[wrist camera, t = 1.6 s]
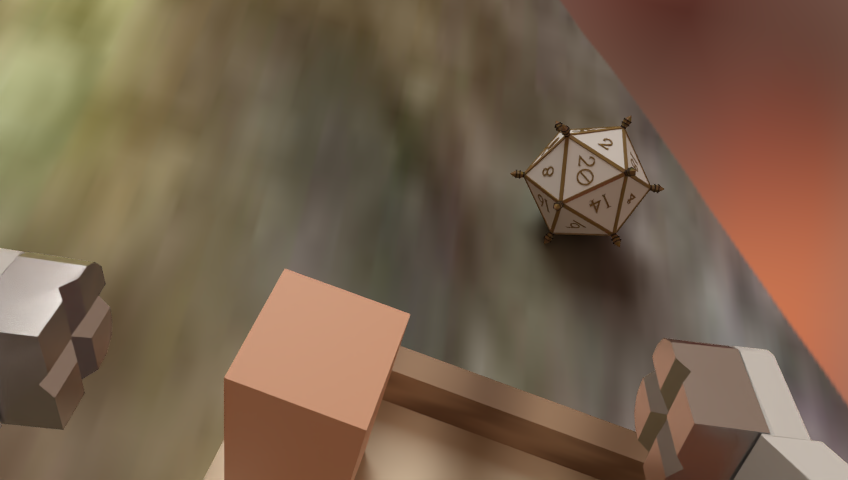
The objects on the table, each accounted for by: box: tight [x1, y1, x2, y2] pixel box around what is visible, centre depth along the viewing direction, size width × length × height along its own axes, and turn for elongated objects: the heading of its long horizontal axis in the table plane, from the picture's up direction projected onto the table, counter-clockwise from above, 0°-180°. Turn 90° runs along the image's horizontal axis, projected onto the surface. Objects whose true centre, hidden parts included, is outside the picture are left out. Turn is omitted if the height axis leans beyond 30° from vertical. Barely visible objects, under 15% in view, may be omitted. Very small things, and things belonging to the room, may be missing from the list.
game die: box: [510, 116, 664, 247], centre depth 48 cm, size 9×8×10 cm
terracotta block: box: [224, 269, 410, 480], centre depth 30 cm, size 5×5×12 cm
